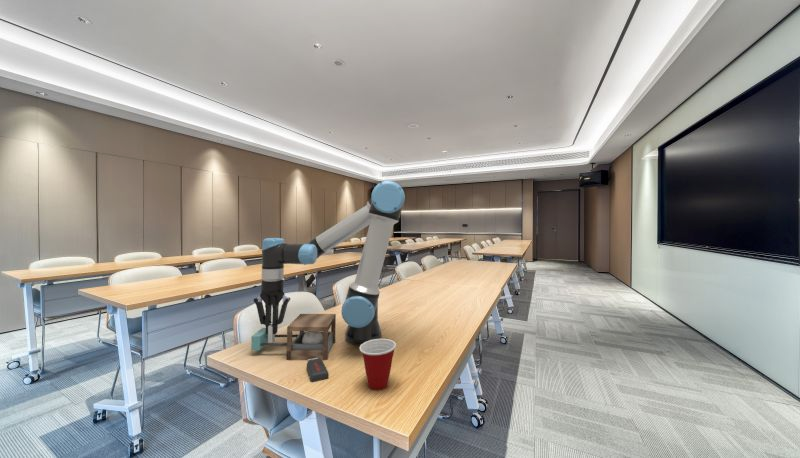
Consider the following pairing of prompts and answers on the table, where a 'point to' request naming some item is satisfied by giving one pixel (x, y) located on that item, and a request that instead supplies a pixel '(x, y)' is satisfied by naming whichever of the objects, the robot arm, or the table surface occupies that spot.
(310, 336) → the geometric ball
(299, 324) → the shelf
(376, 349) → the plastic cup
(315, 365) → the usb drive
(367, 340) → the robot arm
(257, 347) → the long-handled grey tray
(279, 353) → the table surface
